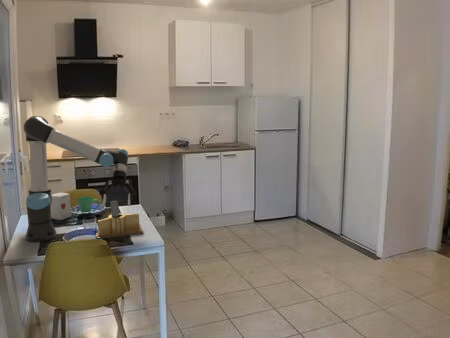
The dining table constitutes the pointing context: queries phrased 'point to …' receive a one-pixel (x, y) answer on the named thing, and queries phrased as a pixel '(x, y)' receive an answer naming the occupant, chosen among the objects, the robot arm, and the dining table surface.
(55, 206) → the supplement box
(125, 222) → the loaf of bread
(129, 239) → the dining table surface
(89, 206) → the mug
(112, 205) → the hinge pin
